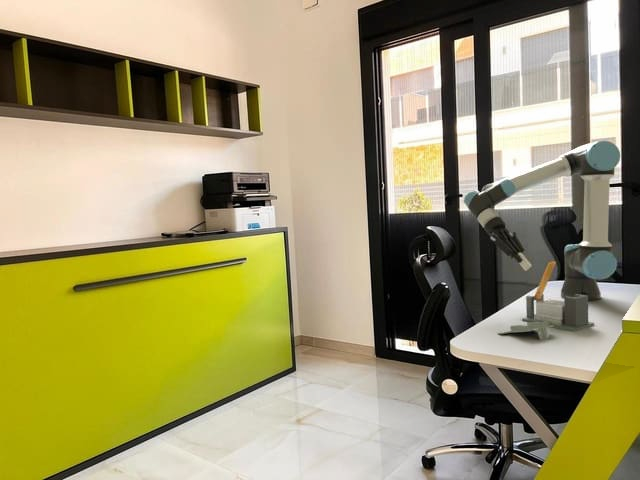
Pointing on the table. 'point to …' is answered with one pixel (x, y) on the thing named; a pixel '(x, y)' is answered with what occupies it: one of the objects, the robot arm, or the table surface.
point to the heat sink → (546, 310)
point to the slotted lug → (576, 310)
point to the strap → (544, 280)
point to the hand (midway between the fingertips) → (528, 268)
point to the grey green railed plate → (559, 325)
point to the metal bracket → (530, 327)
